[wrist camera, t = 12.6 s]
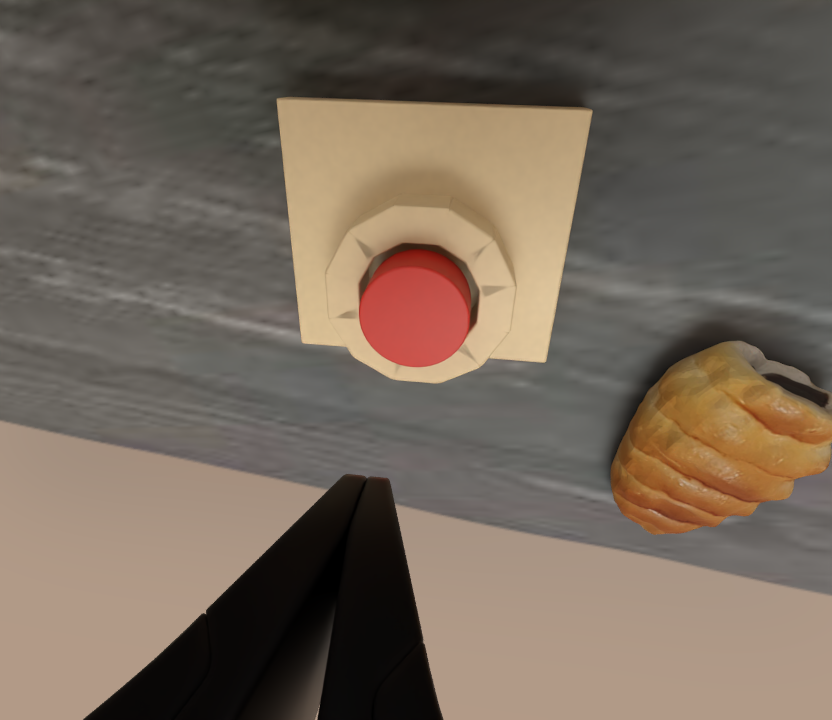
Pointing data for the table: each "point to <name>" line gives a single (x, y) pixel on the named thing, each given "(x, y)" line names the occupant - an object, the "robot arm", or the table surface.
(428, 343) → the button
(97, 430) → the table surface
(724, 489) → the pastry
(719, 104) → the table surface
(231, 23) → the table surface
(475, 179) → the switch block
